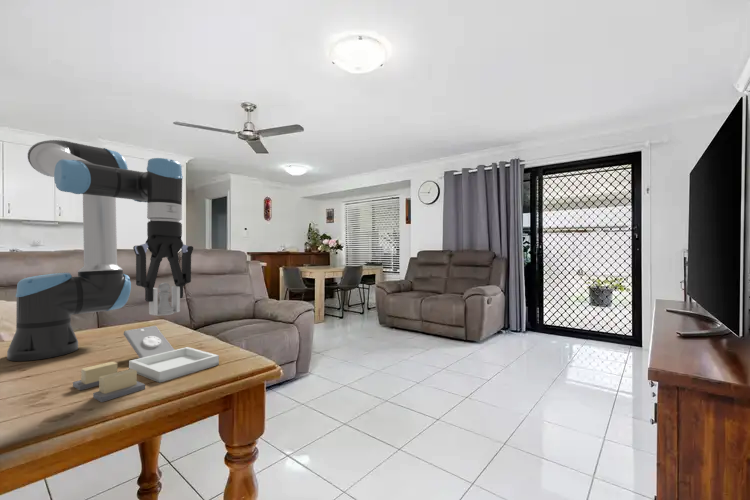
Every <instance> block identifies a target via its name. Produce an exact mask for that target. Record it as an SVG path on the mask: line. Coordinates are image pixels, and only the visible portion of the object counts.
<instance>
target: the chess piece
mask: <svg viewBox="0 0 750 500" xmlns="http://www.w3.org/2000/svg"><path fill="white" fill-rule="evenodd" d="M157 288H158V290H159V292H158V296H159V302H158V315H155V316H157V317H158V316H159V317H160V316H170V315H174V314H175V313H176V312H175V311H173V310H174V308H173V307H172V304H171V305H170V302H169V296H170V294H172V291H169V290H170V288H171V285H170V284H169V283H168V282H162V283H160V284H158V287H157Z"/></svg>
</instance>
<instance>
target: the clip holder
mask: <svg viewBox="0 0 750 500" xmlns="http://www.w3.org/2000/svg"><path fill="white" fill-rule="evenodd" d="M80 376H81V377H80V380H77V381H73V382H72V388H74V389H76V390H79V391H84V390H87V389H91V388H94V387H97V386H98V391H95V392H93V394H92V396H93V399H95V400H97V401H99V402H100V403H103V402H106V401H110V400H114V399H117V398H120V397H123V396H126V395H129V394H133V393H136V392H139V391H142V390H146V384H145V383H143V382H140V381H138V378H137V377H138V374H137V371H136V370H133V369H129V368H128V369H125V370H121V371H118V362H115V361H108V362H105V363H104V362H103V363H99V364H96V365H92V366H87V367H82V368H81V370H80Z"/></svg>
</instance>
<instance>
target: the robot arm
mask: <svg viewBox="0 0 750 500" xmlns="http://www.w3.org/2000/svg"><path fill="white" fill-rule="evenodd" d="M27 160H28V161H27V162H29V165H30V166H31V168H33V169H34V170H35V171H37V172H38V173H40V174H41V175H44V176H47V177H50V178H51V177H52V178H53V179H54V183H55V187H56V189H57V190H58V191H60V192H63V193H64V192H65V193H70V194H75V195H82V221H83V223H82V224H83V227H82V228H83V229H82V230H83V232H82V233H83V234H82V235H83V266H82V267H81V268H80V269H78V270H77V276H72V274H71V273H70V272H58V273H48V274H42V275H41V274H40V275H34V276H28V277H25V278H22V279H21V280H19V281H18V282H17V286H16V294H15V298H16V308H15V309H16V316H15V317H16V325H15V326H16V330H15V333H14V335H13V336H12V339H11V342H10V344H9V347H8V349H7V352H6V355H7V357H6V360H8V361H13V362H25V361H26V362H27V361H28V362H29V361H37V360H43V359H49V358H50V359H51V358H55V357H60V356H64V355H67V354H71V353H73V352H76V351H78V350H79V341H78V338H77V335H76V334H75V331H74V328H73V327H72V322H71V319H72V318H71V317H72V315H81V314H89V313H97V312H98V313H99V312H109V311H112V310H118V309H119V310H120V309H121V308H123V307H124V306H125V305H127V303H128V301H129V298H130V294H131V291H132V290H131V289H132V282H131V278H130V276H129V275H127V274H125V273H124V269H123V268H122V267H121V266H119V265H118V245H117V244H118V243H117V241H118V239H117V238H118V237H117V205H116V204H117V203H116V198H118V199H125V200H132V201H134V202H137V203H147V209H146V210H147V215H146V217H147V219H148V220H149V221H148V222H147V228H146V229H147V231H146V234H147V235H146V236H147V239H146V241H145V243H143V244H140V245H133V247H132V248H133V249H132V250H133V251H134V254H135V286H137V287H141V288H143V289H144V292H145V295H144V297H145V298H144V300H145V302H148V314H149V316H150V315H151V316H156V315H158V305H159V301H158V299H159V298H158V296H159V294H158V293H159V292H158V290H159V288H158V287H155V284H156V281H157V278H158V275H159V274H158V272H159V268H160V266H161V262H162V261H163V258H167V261H168V262H169V267H170V270H171V273H172V274H171V275H172V279H173V282H174V285H172V286H171V307H173V308H174V310H173V311H175V313H180V312H181V299H183V298H184V287H185V286H186V284H190V283H191V282H192V255H193V254H192V253H193V250H194V246H192V245H187V244H185V243H184V242H183V240H182V235H183V224H182V222H180V221H182V220H183V204H182V203H183V179H184V178H183V177H184V176H183V170H182V165H181V162H179V161H176V160H174V159H169V158H164V157H163V158H162V157H154V158H150V159H148V161H147V166H146V171H138V170H132V169H128V164H127V161H126V158H125V157H124V156H123V154H121V153H120V152H118V151H116V150H111V149H108V148H103V147H98V146H92V145H87V144H83V143H78V142H77V143H76V142H72V141H67V140H62V139H49V140H43V141H39V142H37V143H34V144H33V145H32V146H31V147H30V148H28V152H27ZM148 250H149V252H150V253H151V255H150V257H149V258H150V263H149V265H148V271H147V254H146V253H147V252H148ZM180 251H181V265H180V262H179V261H180V258H179V254H178V253H179V252H180Z"/></svg>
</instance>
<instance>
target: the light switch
mask: <svg viewBox="0 0 750 500" xmlns="http://www.w3.org/2000/svg"><path fill="white" fill-rule="evenodd" d="M123 336H124V337H125V339H126V340H127V341H128V343H129V344H130V346H131V347H132V349H133V350H134V352H135V354H136V355H137V357H138V359H139V358H143V357H147V356H152V355H156V354H160V353H164V352H168V351H173V350H175V348H174V347H173V346H172V345H171V343H170V342H169V340H167V338H166V337H165V335H164V334H163V333H162V332H161V331H160V329H159V328H158V326H157V325H151V326H145V327H138V328H135V329H133V328H132V329H128V330H124V332H123Z"/></svg>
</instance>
